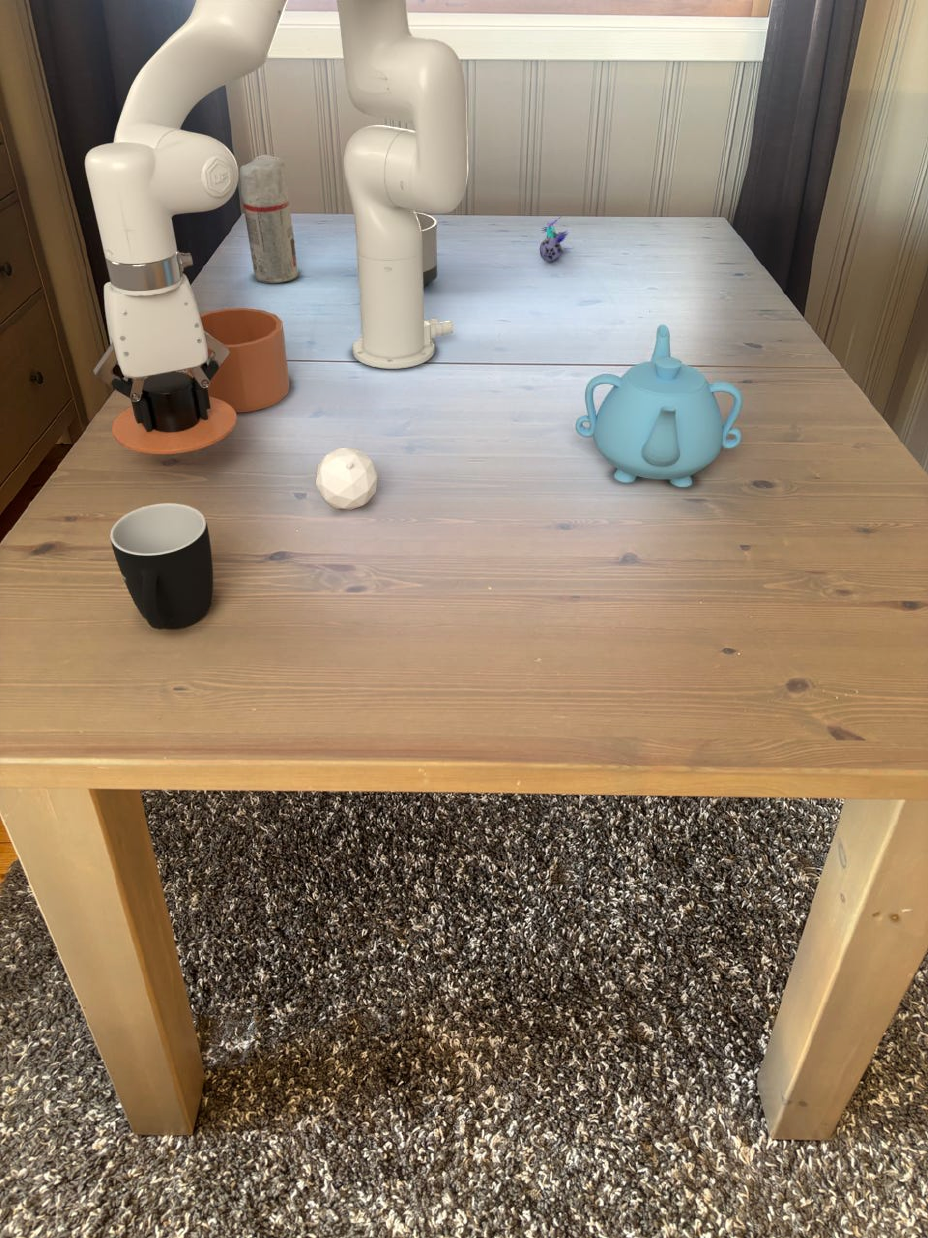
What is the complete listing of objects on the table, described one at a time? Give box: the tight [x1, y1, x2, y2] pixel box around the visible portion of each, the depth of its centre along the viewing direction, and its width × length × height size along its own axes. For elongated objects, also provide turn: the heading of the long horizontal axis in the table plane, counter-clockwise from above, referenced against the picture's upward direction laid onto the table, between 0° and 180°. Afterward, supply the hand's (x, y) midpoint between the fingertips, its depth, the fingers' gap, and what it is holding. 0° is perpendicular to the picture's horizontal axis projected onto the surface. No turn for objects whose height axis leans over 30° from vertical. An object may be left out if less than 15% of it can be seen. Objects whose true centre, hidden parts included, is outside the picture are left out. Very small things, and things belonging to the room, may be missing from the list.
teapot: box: [575, 324, 744, 488], centre depth 115 cm, size 16×20×14 cm
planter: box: [415, 211, 438, 287], centre depth 166 cm, size 13×13×10 cm
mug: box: [109, 502, 214, 630], centre depth 92 cm, size 12×9×10 cm
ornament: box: [315, 446, 379, 511], centre depth 109 cm, size 7×7×8 cm
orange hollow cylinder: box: [186, 307, 290, 414], centre depth 132 cm, size 14×14×10 cm
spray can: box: [239, 154, 299, 284], centre depth 164 cm, size 8×8×20 cm
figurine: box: [539, 216, 573, 264], centre depth 180 cm, size 7×6×12 cm
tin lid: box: [111, 371, 238, 455], centre depth 112 cm, size 15×15×6 cm
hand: (174, 419), depth 113 cm, fingers closed on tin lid, 6 cm apart
